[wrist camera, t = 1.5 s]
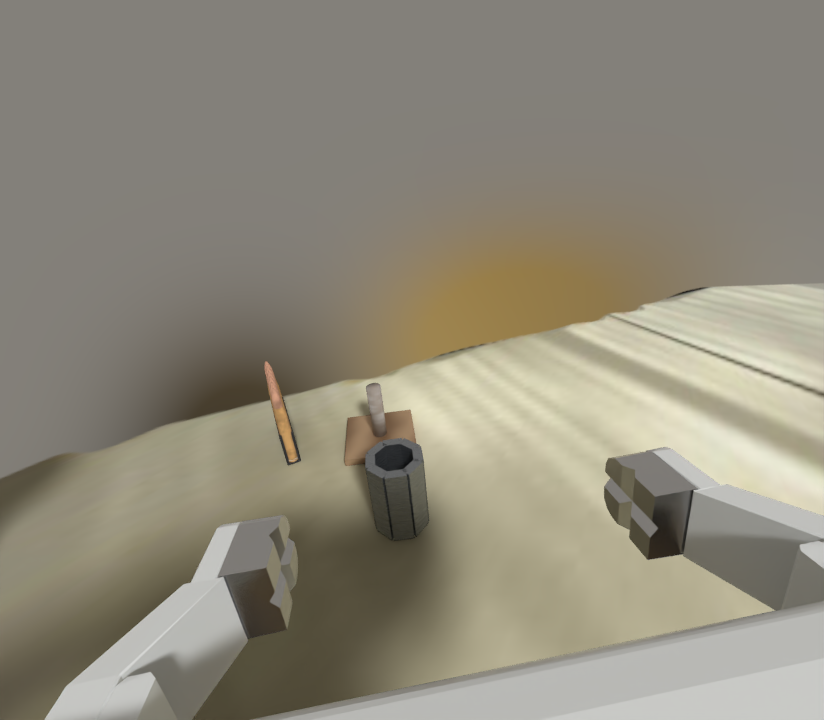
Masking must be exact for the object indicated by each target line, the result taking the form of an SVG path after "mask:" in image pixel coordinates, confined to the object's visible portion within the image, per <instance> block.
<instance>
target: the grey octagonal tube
mask: <svg viewBox="0 0 824 720" xmlns="http://www.w3.org/2000/svg"><path fill="white" fill-rule="evenodd" d="M365 469H366V474H367V479H368V485H369V490H370V496H371V501H372V507H373V512H374V518H375V523H376V529H377V531H379V532H380V533H382V534H383V535H385V536H386V537H388V538H389V539H391V540H393V539H394V541H396V540H403V539H410V538H414V536H416V537H417V536H418V534H419V533H420V532H421V531H422V530H423V529H424V528H425V527H426V525H427V524H428V523H429V522H428V521H429V514H428V503H427V493H426V482H425V471H424V460H423V455H422V450H421V447H420V445H418V444H416V443H414V442H412V441H410V440H407V439H405V438H404V439H403V440H402V438H397V439H389V440H383V442H381V441H380V442H379V443H378V444H376V445H375V446H374V447H373V448H371V449H370V450H369V451H367V454H366V457H365Z"/></svg>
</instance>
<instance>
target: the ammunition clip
mask: <svg viewBox="0 0 824 720" xmlns="http://www.w3.org/2000/svg"><path fill="white" fill-rule="evenodd" d="M265 375H266V378H267V383H268V391H269V394H270V399H271V404H272V408H273V412H274V417H275V421H276V425H277V429H278V433H279V437H280V441H281V444H282V447H283V451H284V454H285V458H286V461H287V464H288V465H290V464H293V463H296V462H299V461H301V459H300V455H299V452H298V448H297V444H296V441H295V437H294V434H293V430H292V427H291V423H290V420H289V417H288V413H287V410H286V406H285V403H284V400H283V397H282V396H281V392H280V389H279V386H278V383H277V381H276V379H275V376H274V373H273V371H272V368H271V366H270V365H269V363H268V362H265Z"/></svg>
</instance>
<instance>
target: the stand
mask: <svg viewBox="0 0 824 720" xmlns="http://www.w3.org/2000/svg"><path fill="white" fill-rule="evenodd" d="M366 391H367V397H368V403H369V409H370V415H366V416H358V417H350V418H348V424H347V437H346V450H345V464H346V466H349V465H356V464H364V463H365V457H366V454H367V451H369V450H370V449H371V448H373V447H374V446H375V445H376V444H378V443H379V442H380V441H381V442H383V440H389V439H397V438H402V440H403V439H404V438H405V439H407V440H410V441H412V442H414V443H416V439H415V433H414V428H413V422H412V416H411V410H405V411H397V412H389V413H384V408H383V401H382V394H381V387H380V384H378V383H372V384H369V385H367V386H366Z"/></svg>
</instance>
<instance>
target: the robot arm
mask: <svg viewBox="0 0 824 720" xmlns="http://www.w3.org/2000/svg"><path fill="white" fill-rule="evenodd" d="M605 472H606V473H607V474H608V476H609V477H610V479H609V481H608V482H607V484H606V485H605V486H604V499H605V502H606V506H607V509H608V511H609V512H610V514H611V516H612V517H613V519H614V520H615V521H616V522H617V524H619V525H621V526H623V527H625V528H627V529H629V530H630V532H629V538H630V539H631V541H632V542H633V543H634V544H635V545H636V547H637V548H638V549H639V550H640V551H641V553H642V554H643V555H644V556H645V557H646V559H647V560H650V559H657V558H663V557H669V556H675V555H681V554H683V556H684V557H686V558H687V559H689V560H691V561H692V562H694V563H696V564H697V565H699V566H701V567H703V568H704V569H706V570H708V571H709V572H711V573H713V574H715V575H716V576H718V577H720V578H721V579H723V580H725V581H726V582H728V583H730V584H732V585H733V586H735V587H737V588H738V589H740V590H742V591H743V592H745V593H747V594H749V595H750V596H752V597H754V598H755V599H757V600H759V601H761V602H762V603H764V604H766V605H767V606H769V607H771V608H772V609H774V610H776V611H772V612H767V613H762V614H757V615H752V616H748V617H743V618H738V619H733V620H728V621H723V622H719V623H714V624H709V625H704V626H699V627H694V628H690V629H685V630H680V631H675V632H670V633H666V634H661V635H656V636H651V637H646V638H641V639H637V640H632V641H627V642H622V643H617V644H612V645H608V646H603V647H598V648H593V649H588V650H584V651H579V652H574V653H569V654H564V655H560V656H555V657H550V658H545V659H540V660H536V661H531V662H526V663H521V664H516V665H512V666H507V667H502V668H497V669H492V670H487V671H483V672H478V673H473V674H468V675H463V676H459V677H454V678H449V679H444V680H439V681H434V682H430V683H425V684H420V685H415V686H410V687H405V688H401V689H396V690H391V691H386V692H381V693H376V694H371V695H367V696H362V697H357V698H352V699H347V700H342V701H338V702H333V703H328V704H323V705H318V706H313V707H309V708H304V709H299V710H294V711H289V712H285V713H280V714H275V715H270V716H265V717H261V718H256V719H251V720H824V516H822V515H819V514H816V513H813V512H810V511H807V510H804V509H801V508H798V507H795V506H792V505H789V504H786V503H783V502H780V501H777V500H774V499H770V498H767V497H764V496H761V495H758V494H755V493H752V492H749V491H746V490H743V489H740V488H737V487H734V486H731V485H728V484H726V485H720V484H718V483H717V482H716V481H714V480H713V479H712V478H710V477H709V476H708V475H706V474H705V473H704V472H702V471H701V470H700V469H698V468H697V467H696V466H694V465H693V464H692V463H690V462H689V461H687V460H686V459H685V458H683V457H682V456H681V455H679V454H678V453H677V452H675V451H674V450H673V449H671V448H667V447H663V448H658V449H653V450H648V451H646V452H640V453H634V454H629V455H623V456H618V457H612V458H608V460H607V462H606V469H605ZM289 531H290V526H289V523H288V520H287V517H286V516H284V515H280V516H274V517H267V518H261V519H254V520H247V521H242V522H236V523H230V524H224V525H221V526H220V527H218V528H217V529H216V531H215V533H214V535H213V537H212V539H211V541H210V543H209V546H208V548H207V550H206V552H205V554H204V556H203V558H202V560H201V562H200V564H199V566H198V568H197V570H196V572H195V575H194V577H193V579H192V581H191V583H187V584H183V585H182V586H181V587H180V588H179V589H177V590H176V591H175V592H174V593H173V594H172V595H171V596H169V597H168V598H167V599H166V600H165V601H164V602H162V603H161V604H160V605H159V606H158V607H157V608H156V609H154V610H153V611H152V612H151V613H150V614H149V615H148V616H146V617H145V618H144V619H143V620H142V621H141V622H139V623H138V624H137V625H136V626H135V627H134V628H133V629H131V630H130V631H129V632H128V633H127V634H126V635H124V636H123V637H122V638H121V639H120V640H119V641H118V642H116V643H115V644H114V645H113V646H112V647H111V648H110V649H108V650H107V651H106V652H105V653H104V654H103V655H101V656H100V657H99V658H98V659H97V660H96V661H95V662H93V663H92V664H91V665H90V666H89V667H88V668H87V669H85V670H84V671H83V672H82V673H81V674H80V675H78V676H77V677H76V678H75V679H74V680H73V681H72V682H70V683H69V684H68V685H67V686H66V687H65V689H64V690H63V692H62V693H61V695H60V696H59V698H58V700H57V701H56V703H55V704H54V706H53V707H52V709H51V710H50V712H49V714H48V715H47V717H46V718H45V720H192V719H193V717H194V716H195V715H196V713H197V712H198V710H199V709H200V708H201V706H202V705H203V703H204V702H205V701H206V699H207V698H208V696H209V695H210V694H211V692H212V691H213V689H214V688H215V687H216V685H217V684H218V682H219V681H220V680H221V678H222V677H223V675H224V674H225V673H226V671H227V670H228V669H229V667H230V666H231V664H232V663H233V662H234V660H235V659H236V657H237V656H238V655H239V653H240V652H241V650H242V649H243V648H244V646H245V645H246V643H247V642H248V639H249V638H253V637H258V636H262V635H267V634H271V633H276V632H280V631H284V630H287V629H288V623H289V618H290V613H291V608H292V603H293V601H292V598H291V595H290V591H291V590H292V588H293V587H294V586H295V585H296V581H297V575H298V556H297V550H296V546H295V543H294V542H293V541H292V540H291V539H289V538H288V535H289Z"/></svg>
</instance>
